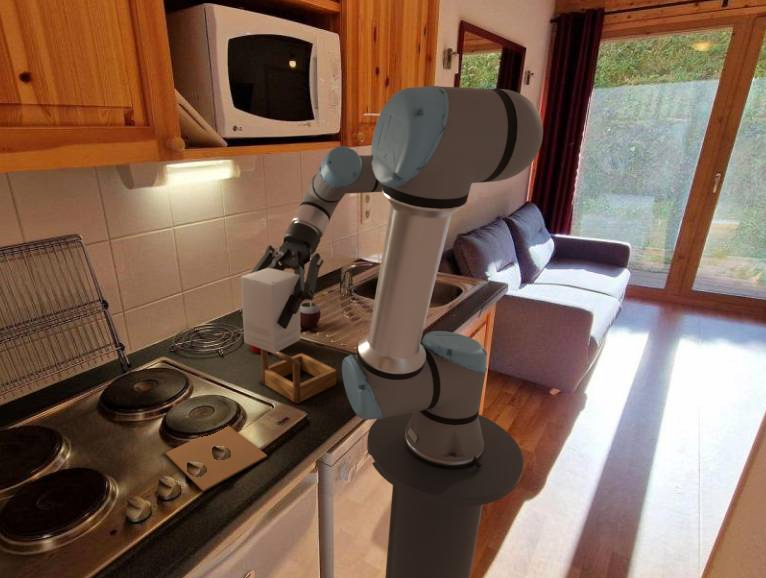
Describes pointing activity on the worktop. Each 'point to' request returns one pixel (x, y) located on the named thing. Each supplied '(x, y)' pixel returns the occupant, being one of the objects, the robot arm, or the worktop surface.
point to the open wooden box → (296, 376)
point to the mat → (216, 469)
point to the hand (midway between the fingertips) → (262, 320)
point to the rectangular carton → (268, 309)
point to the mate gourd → (309, 316)
